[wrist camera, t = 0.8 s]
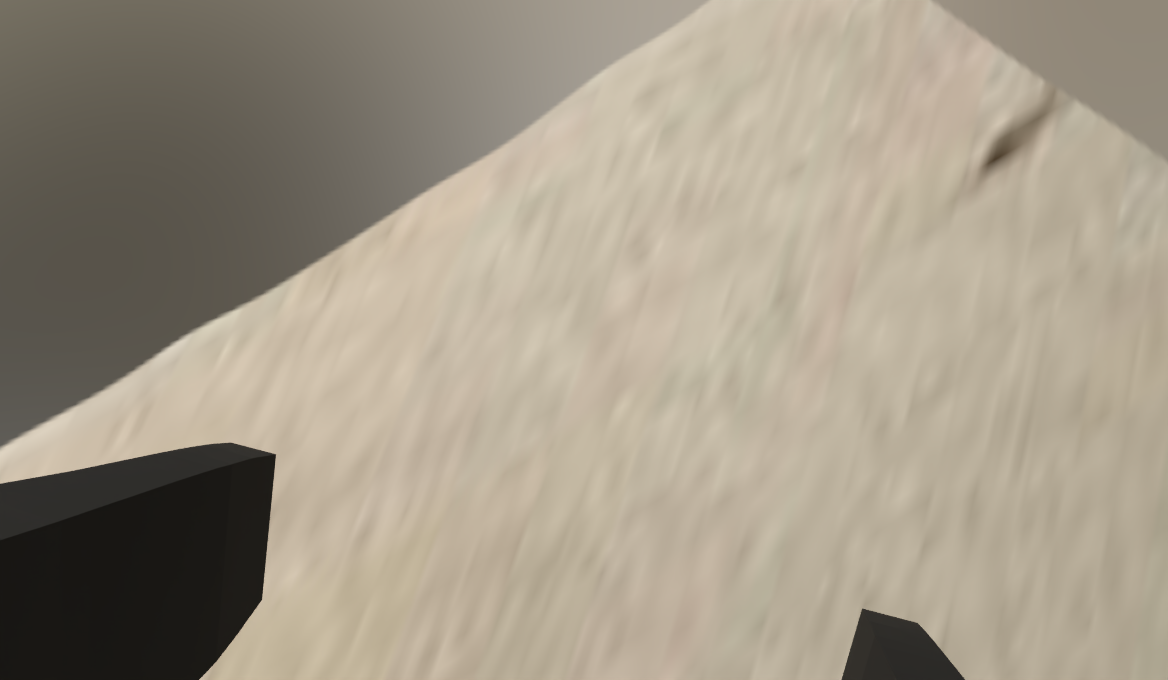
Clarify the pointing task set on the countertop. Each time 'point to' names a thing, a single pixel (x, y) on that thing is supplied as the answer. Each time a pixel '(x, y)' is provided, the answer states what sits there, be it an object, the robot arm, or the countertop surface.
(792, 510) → the countertop surface
